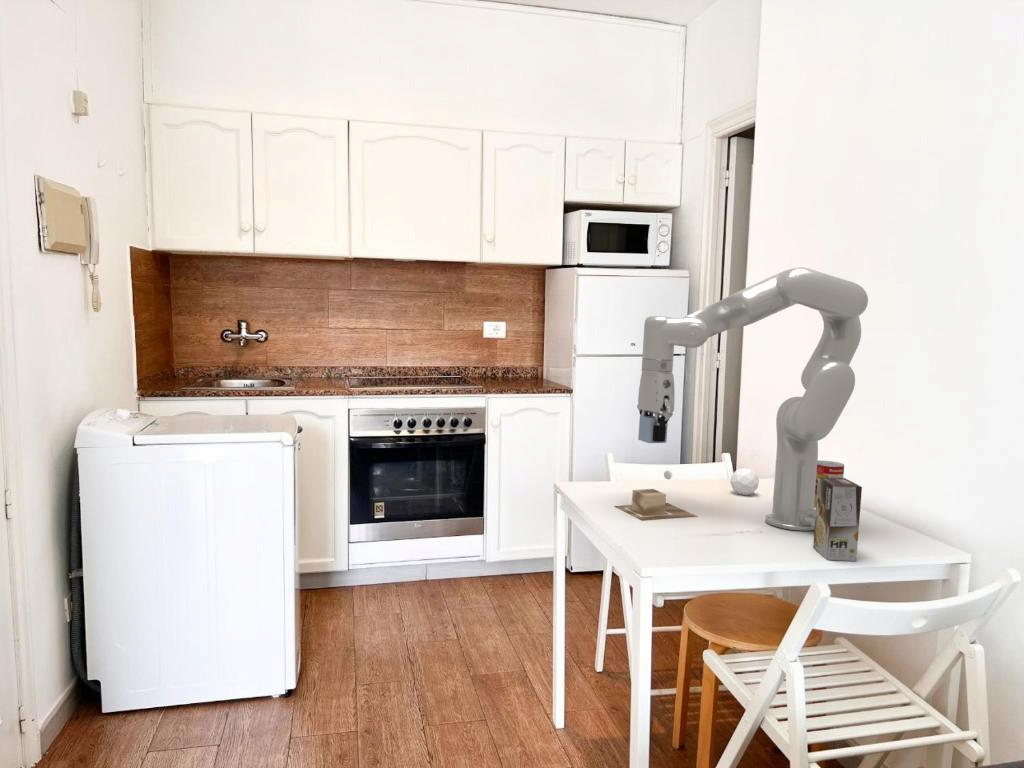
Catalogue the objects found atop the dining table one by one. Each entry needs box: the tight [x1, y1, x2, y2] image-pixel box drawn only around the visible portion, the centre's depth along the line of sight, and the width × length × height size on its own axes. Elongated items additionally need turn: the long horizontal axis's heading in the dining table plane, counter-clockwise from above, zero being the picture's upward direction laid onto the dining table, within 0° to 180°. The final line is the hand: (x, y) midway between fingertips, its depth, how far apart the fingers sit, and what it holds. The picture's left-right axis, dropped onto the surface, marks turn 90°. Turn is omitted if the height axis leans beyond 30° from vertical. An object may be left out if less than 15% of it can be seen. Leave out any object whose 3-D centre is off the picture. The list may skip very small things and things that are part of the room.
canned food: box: [814, 459, 845, 508], centre depth 206 cm, size 8×8×12 cm
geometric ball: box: [730, 467, 760, 496], centre depth 217 cm, size 8×8×8 cm
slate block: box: [637, 415, 669, 444], centre depth 186 cm, size 5×5×6 cm
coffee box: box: [812, 477, 863, 562], centre depth 162 cm, size 9×6×16 cm
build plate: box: [613, 502, 699, 522], centre depth 189 cm, size 14×16×1 cm
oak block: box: [631, 488, 667, 515], centre depth 188 cm, size 6×6×5 cm
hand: (652, 438), depth 187 cm, fingers closed on slate block, 5 cm apart
